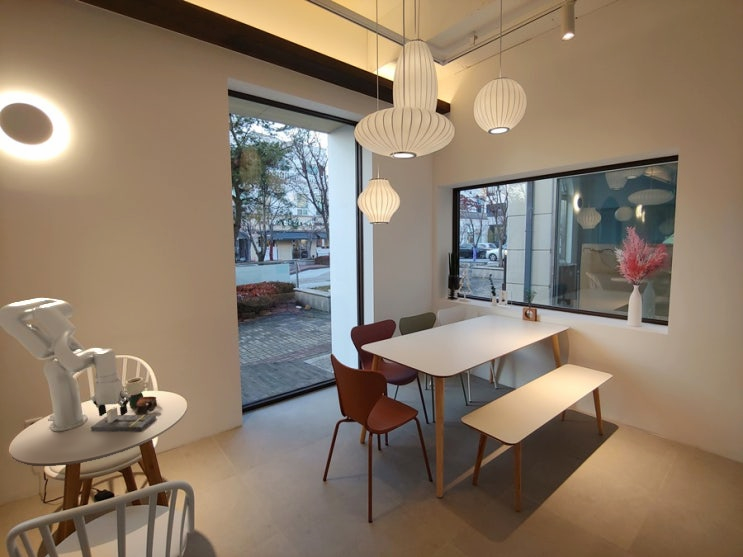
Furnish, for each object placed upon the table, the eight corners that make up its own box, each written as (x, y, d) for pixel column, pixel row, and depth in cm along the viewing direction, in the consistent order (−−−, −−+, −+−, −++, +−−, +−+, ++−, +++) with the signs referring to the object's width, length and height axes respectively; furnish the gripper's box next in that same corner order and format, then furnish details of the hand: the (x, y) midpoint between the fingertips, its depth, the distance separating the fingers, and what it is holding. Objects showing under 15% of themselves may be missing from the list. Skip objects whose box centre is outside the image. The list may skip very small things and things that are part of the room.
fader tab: (107, 422, 155) (106, 411, 154) (114, 417, 159) (113, 406, 158) (111, 422, 155) (109, 411, 154) (118, 417, 159) (116, 406, 158)
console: (91, 431, 152) (90, 426, 152) (109, 419, 162) (108, 414, 162) (141, 431, 152) (140, 426, 151) (156, 418, 161) (155, 414, 161)
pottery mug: (128, 416, 165) (131, 398, 169) (148, 416, 173) (150, 398, 177) (146, 414, 161) (149, 395, 164) (165, 413, 169) (167, 395, 172)
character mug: (150, 399, 181) (147, 375, 179) (150, 405, 175) (147, 380, 173) (124, 405, 175) (121, 380, 174) (123, 411, 169) (120, 385, 167)
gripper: (81, 381, 151) (87, 419, 153) (120, 380, 150) (126, 418, 152) (95, 374, 158) (101, 410, 160) (133, 373, 157) (138, 409, 160)
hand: (113, 414), depth 156 cm, fingers open, 9 cm apart
